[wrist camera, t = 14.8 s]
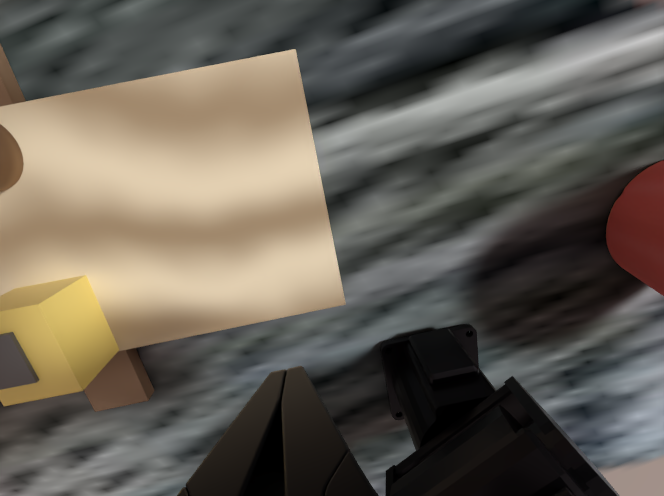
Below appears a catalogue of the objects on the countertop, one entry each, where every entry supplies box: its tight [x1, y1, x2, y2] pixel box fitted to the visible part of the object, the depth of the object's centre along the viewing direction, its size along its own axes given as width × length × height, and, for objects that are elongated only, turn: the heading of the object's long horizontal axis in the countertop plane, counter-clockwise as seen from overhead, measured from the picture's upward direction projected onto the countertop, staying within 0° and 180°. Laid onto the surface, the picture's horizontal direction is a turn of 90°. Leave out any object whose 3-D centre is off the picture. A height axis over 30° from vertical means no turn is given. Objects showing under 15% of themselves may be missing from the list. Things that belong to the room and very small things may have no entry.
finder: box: [0, 275, 119, 406], centre depth 18 cm, size 5×4×4 cm
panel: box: [0, 44, 345, 412], centre depth 18 cm, size 22×26×1 cm
